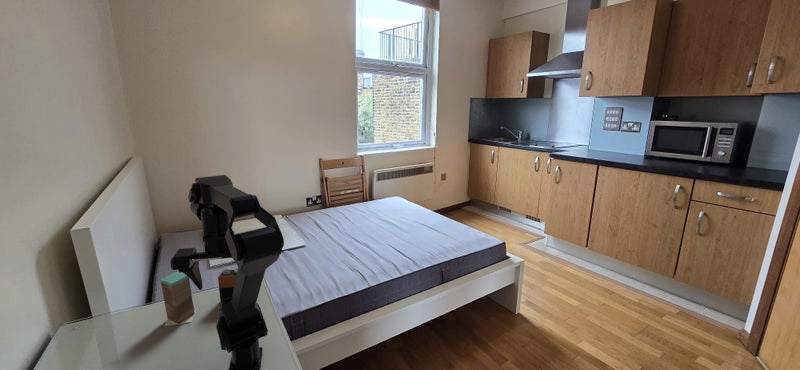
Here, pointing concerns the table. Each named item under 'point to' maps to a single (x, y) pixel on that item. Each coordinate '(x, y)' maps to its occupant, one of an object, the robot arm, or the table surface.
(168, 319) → the pad
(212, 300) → the table surface
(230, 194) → the robot arm
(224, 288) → the battery
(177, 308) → the block
